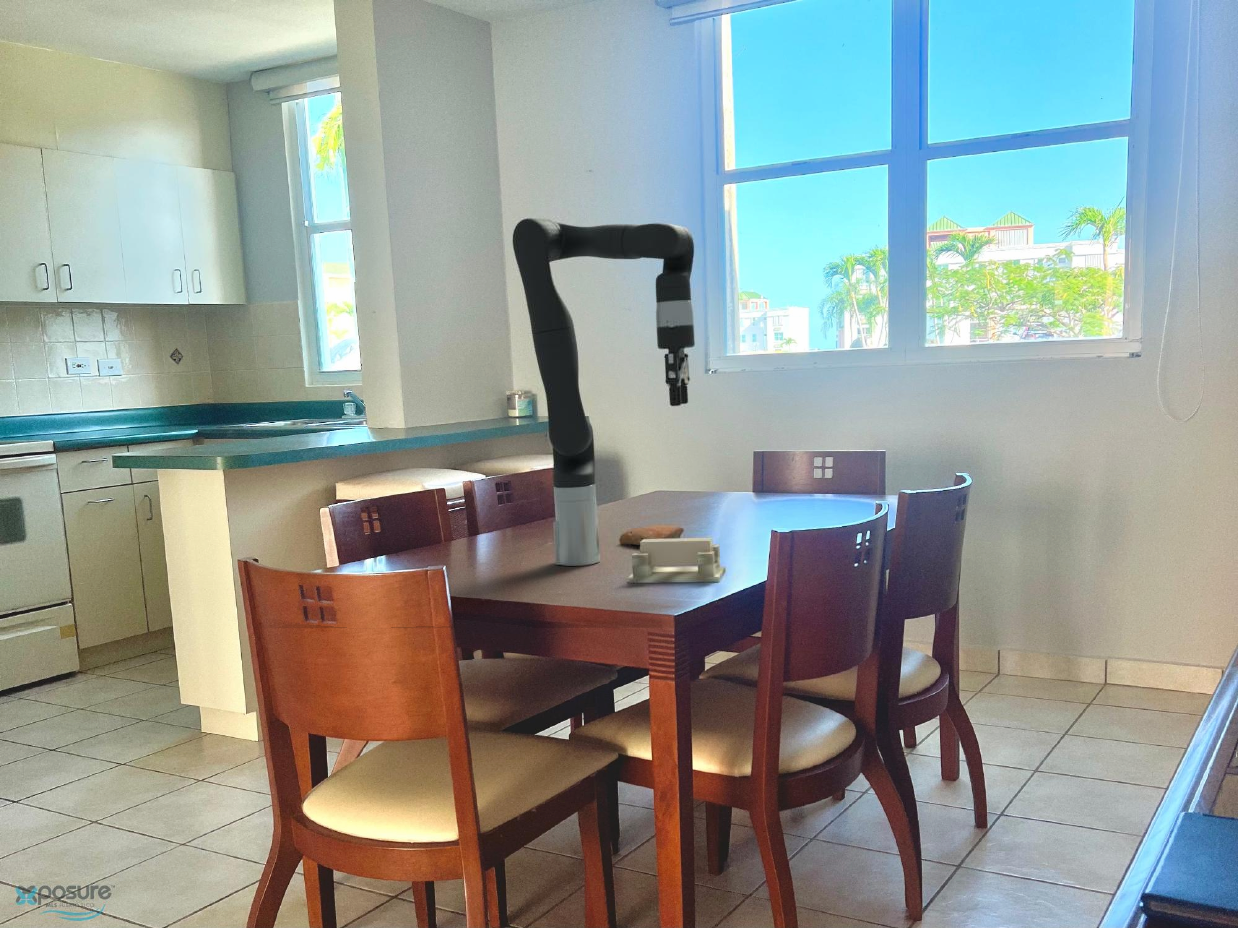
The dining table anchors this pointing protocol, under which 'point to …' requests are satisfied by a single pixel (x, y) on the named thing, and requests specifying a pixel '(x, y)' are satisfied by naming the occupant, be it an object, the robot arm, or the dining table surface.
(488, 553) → the dining table surface
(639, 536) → the ceramic shard
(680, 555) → the clay bar
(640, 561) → the rack
